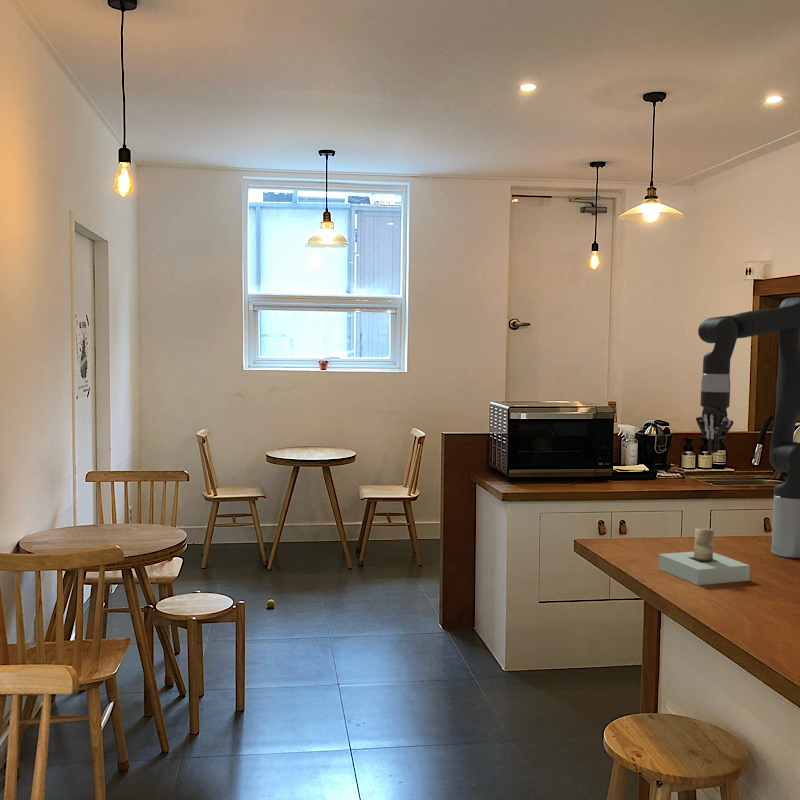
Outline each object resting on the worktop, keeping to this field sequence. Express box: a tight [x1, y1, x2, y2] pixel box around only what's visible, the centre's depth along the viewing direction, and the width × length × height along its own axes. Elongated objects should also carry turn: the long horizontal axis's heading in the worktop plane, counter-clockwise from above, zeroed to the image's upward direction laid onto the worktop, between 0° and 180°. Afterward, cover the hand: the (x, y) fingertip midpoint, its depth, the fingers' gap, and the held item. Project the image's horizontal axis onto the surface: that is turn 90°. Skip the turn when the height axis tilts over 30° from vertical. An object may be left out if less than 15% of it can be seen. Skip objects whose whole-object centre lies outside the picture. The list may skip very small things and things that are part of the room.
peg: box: [693, 527, 715, 563], centre depth 214 cm, size 5×5×12 cm
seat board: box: [657, 551, 751, 586], centre depth 214 cm, size 16×16×4 cm
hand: (712, 452), depth 225 cm, fingers closed
